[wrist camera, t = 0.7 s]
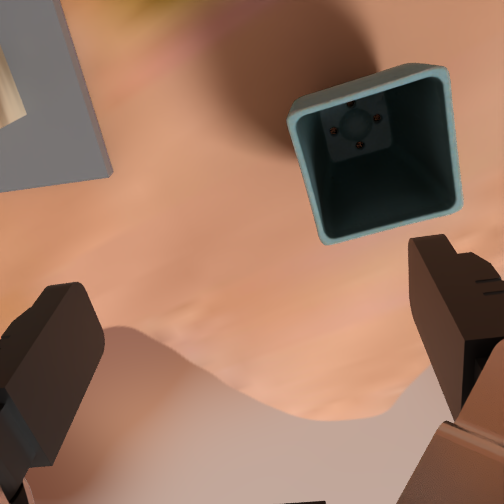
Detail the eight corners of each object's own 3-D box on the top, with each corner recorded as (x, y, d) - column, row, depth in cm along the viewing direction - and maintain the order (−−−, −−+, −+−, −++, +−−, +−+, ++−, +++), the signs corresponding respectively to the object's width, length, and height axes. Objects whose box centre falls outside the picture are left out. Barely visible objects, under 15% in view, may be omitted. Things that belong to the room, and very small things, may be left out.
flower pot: (425, 162, 36) (466, 212, 28) (312, 193, 38) (322, 248, 30) (407, 43, 32) (449, 62, 24) (281, 83, 34) (283, 114, 26)
